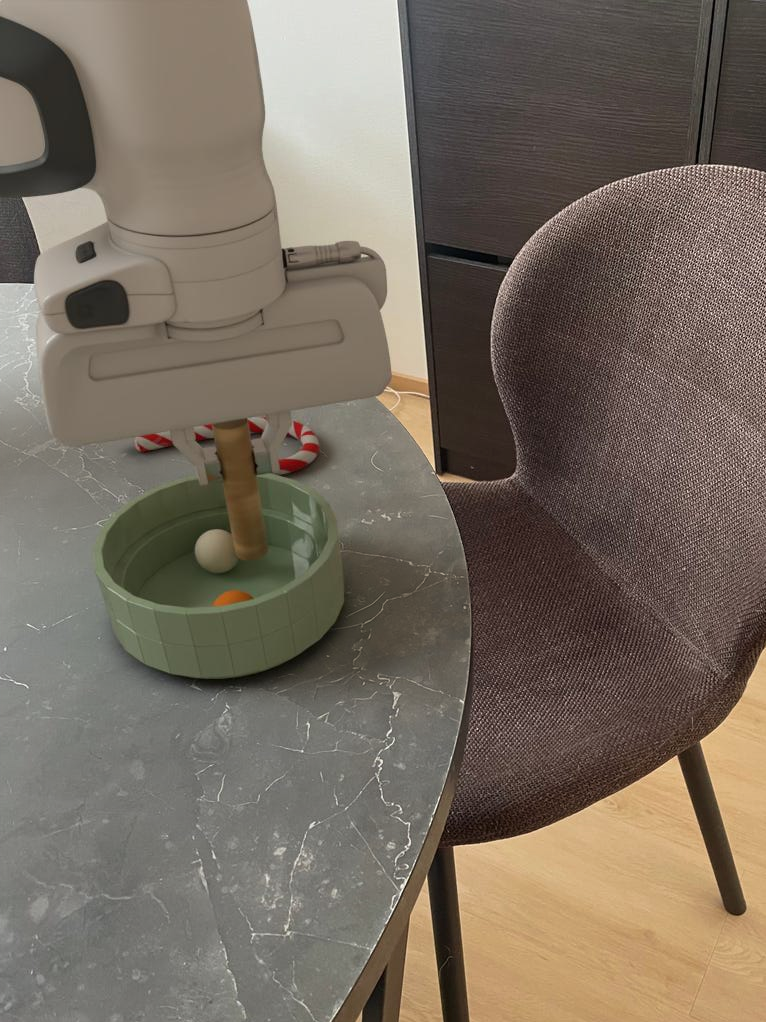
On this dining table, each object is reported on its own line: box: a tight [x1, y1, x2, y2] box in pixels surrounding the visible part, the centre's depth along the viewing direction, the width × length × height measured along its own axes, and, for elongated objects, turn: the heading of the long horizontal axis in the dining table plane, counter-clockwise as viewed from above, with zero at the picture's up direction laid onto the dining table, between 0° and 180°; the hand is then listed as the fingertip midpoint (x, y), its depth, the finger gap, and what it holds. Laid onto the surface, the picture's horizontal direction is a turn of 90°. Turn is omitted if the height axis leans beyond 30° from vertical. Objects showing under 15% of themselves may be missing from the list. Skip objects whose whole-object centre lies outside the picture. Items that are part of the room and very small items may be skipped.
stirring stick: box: [212, 418, 268, 561], centre depth 67 cm, size 2×2×10 cm
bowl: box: [91, 473, 345, 680], centre depth 68 cm, size 15×15×6 cm
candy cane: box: [133, 416, 320, 476], centre depth 84 cm, size 8×1×15 cm
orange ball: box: [213, 590, 254, 607], centre depth 66 cm, size 3×3×3 cm
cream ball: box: [195, 529, 239, 573], centre depth 71 cm, size 3×3×3 cm
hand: (238, 474), depth 66 cm, fingers closed on stirring stick, 2 cm apart
